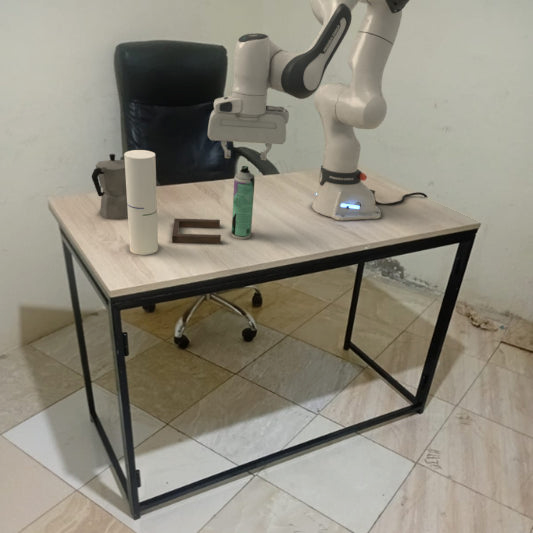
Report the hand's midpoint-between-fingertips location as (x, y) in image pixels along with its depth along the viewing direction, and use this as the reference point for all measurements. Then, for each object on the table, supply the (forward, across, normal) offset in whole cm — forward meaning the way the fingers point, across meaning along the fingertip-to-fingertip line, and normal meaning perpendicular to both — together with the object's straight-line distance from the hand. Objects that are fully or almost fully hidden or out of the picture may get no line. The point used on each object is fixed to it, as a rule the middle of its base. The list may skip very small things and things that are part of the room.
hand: (245, 158), depth 133 cm
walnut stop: (+22, +12, 0) cm, 26 cm away
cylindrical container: (+23, +26, +10) cm, 36 cm away
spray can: (+22, 0, 0) cm, 22 cm away
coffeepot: (+23, +37, -12) cm, 45 cm away
